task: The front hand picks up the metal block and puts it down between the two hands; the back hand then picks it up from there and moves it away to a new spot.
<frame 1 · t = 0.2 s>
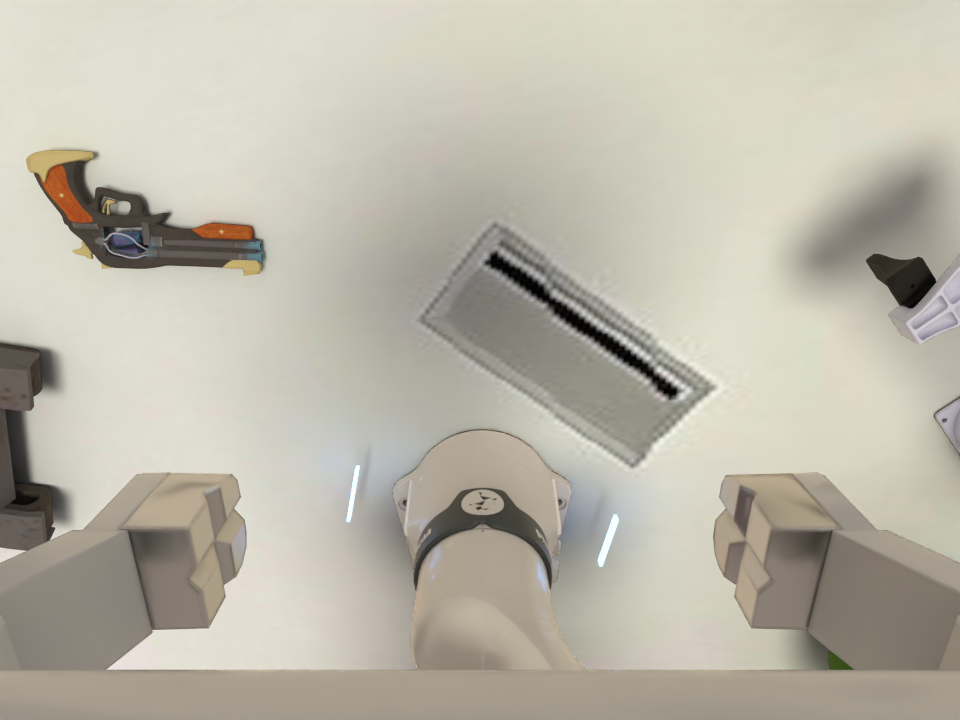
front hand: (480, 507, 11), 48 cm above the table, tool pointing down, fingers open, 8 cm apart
toy gun: (156, 212, 56), on the table
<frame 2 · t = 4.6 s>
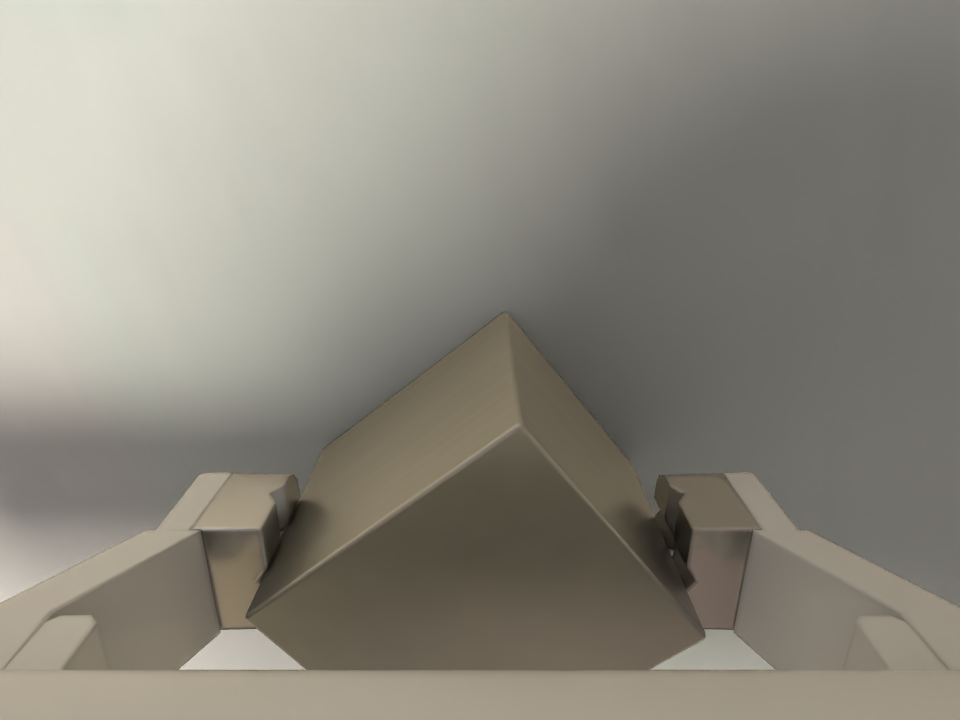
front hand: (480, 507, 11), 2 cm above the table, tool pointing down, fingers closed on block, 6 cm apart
block: (477, 457, 12), on the table, touching front hand
when the front hand's fingers open (2 cm above the table, at t = 16.5 s): block stays where it is, on the table.
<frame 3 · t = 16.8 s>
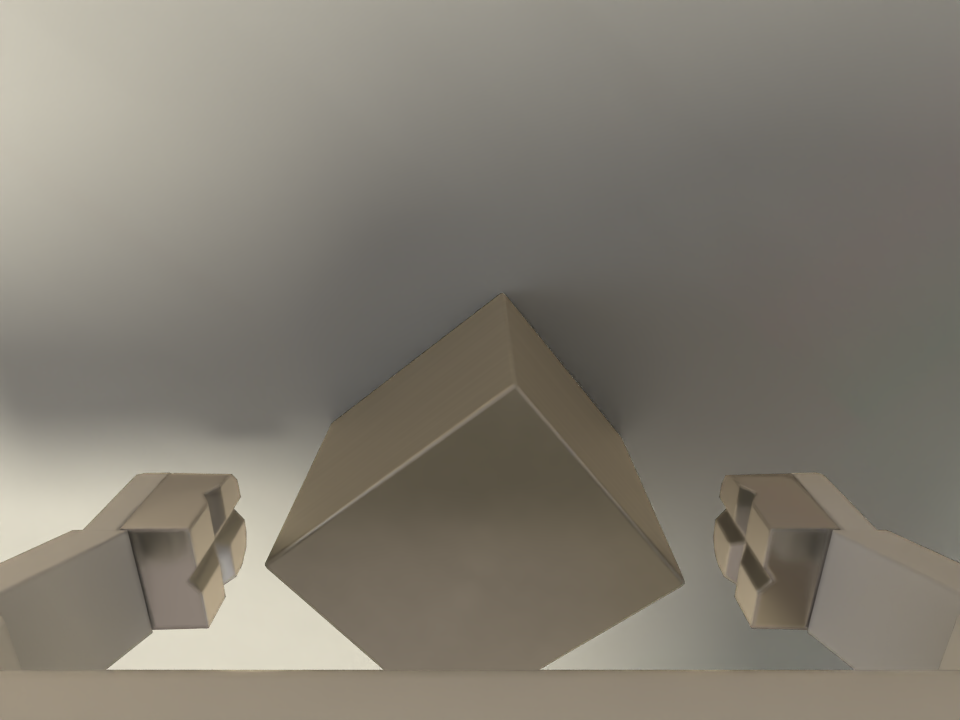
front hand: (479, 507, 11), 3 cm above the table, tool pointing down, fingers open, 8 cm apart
block: (476, 431, 13), on the table
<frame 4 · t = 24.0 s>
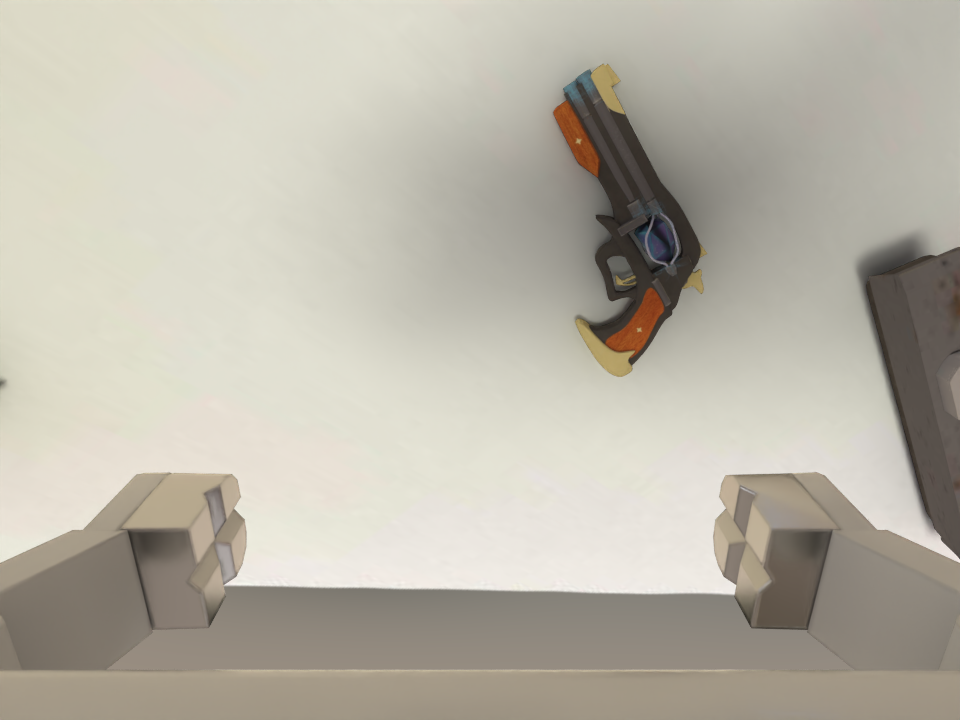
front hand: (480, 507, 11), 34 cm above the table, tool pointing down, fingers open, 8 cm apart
toy gun: (605, 230, 43), on the table
when the back hand's fingers open (2 cm above the table, at t = 30.6 s): block stays where it is, on the table.
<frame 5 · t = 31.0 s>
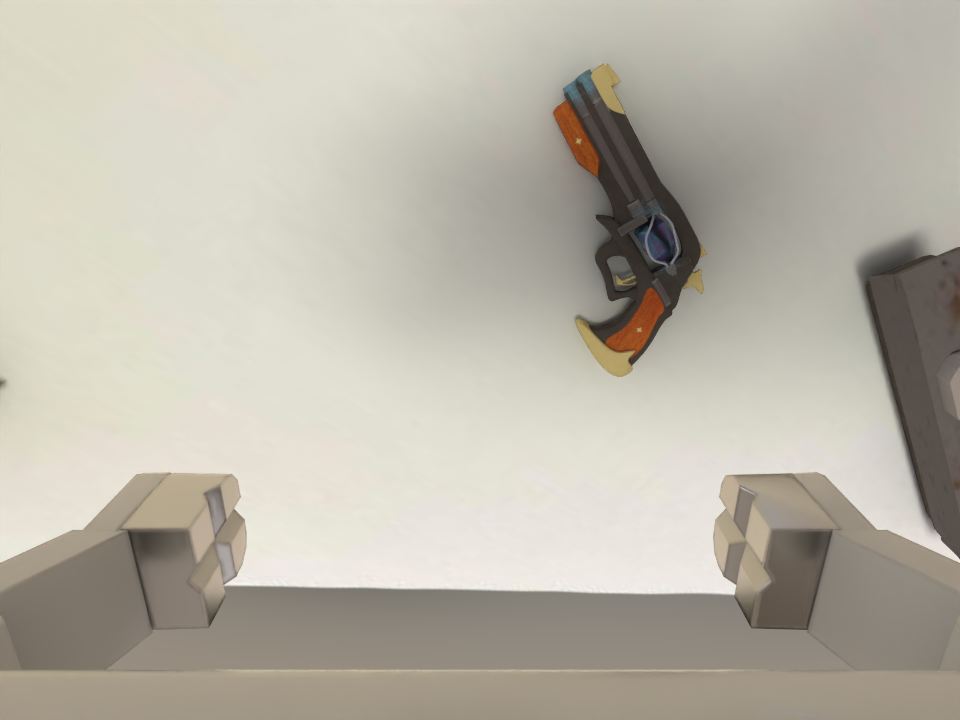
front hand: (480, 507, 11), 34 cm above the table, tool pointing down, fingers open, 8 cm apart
toy gun: (605, 230, 43), on the table
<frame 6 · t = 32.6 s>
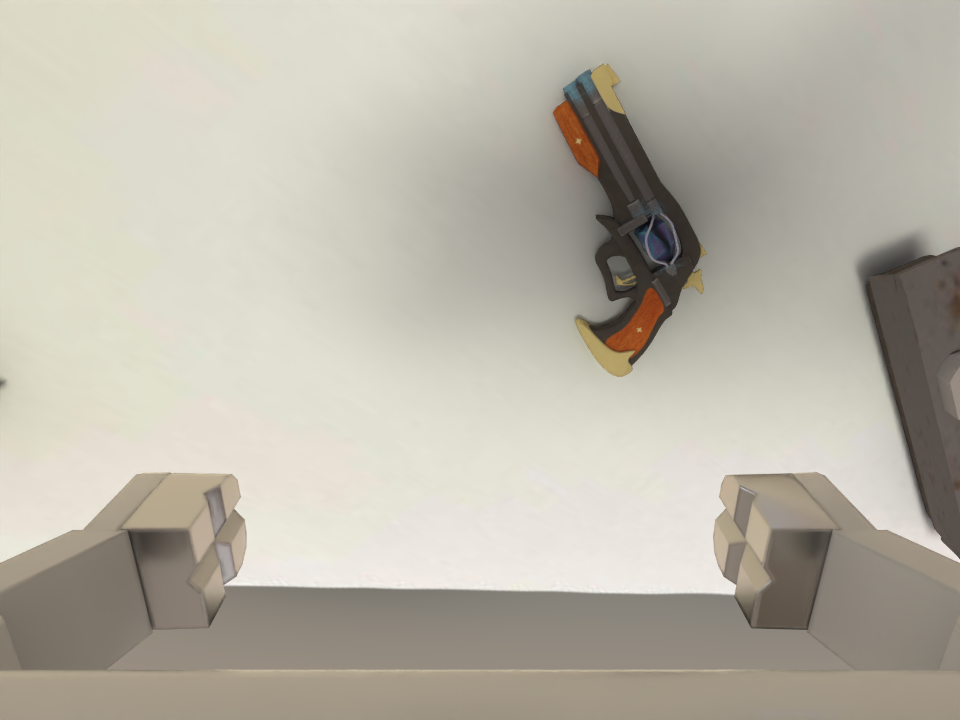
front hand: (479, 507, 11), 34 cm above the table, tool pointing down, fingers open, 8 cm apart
toy gun: (605, 230, 43), on the table
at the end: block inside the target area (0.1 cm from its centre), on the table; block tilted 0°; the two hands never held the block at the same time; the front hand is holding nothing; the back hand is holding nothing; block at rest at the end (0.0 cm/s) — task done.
